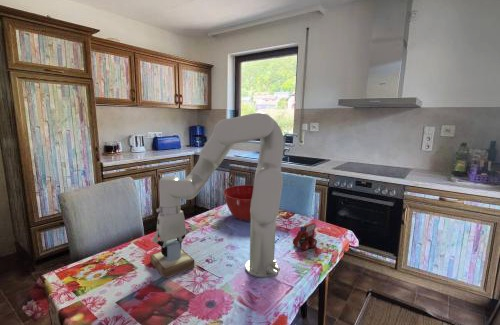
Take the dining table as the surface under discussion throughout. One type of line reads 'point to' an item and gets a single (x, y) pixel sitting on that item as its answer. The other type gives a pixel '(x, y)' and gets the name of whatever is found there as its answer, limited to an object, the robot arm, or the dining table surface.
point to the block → (173, 250)
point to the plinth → (171, 264)
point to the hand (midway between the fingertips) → (171, 252)
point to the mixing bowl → (239, 201)
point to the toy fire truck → (305, 237)
